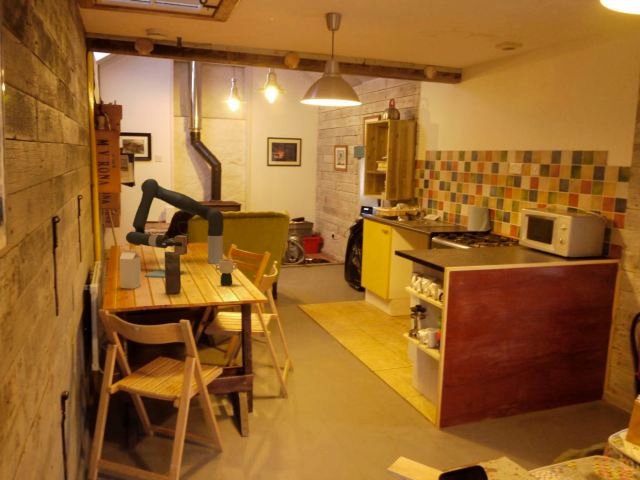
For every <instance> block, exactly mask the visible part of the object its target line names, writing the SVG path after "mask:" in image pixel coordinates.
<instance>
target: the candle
mask: <svg viewBox="0 0 640 480" xmlns="http://www.w3.org/2000/svg"><path fill="white" fill-rule="evenodd" d="M180 256H181V255H180V254H179V253H177V252H174V251H164V270H165V278H164V285H165V286H164V288H165V290H164V291H165V294H167V295H172V294H178V293H180V292H181V290H182V284H181V283H182V282H181V279H182V278H181V274H180V271H181V257H180Z"/></svg>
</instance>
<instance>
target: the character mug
mask: <svg viewBox="0 0 640 480" xmlns="http://www.w3.org/2000/svg"><path fill="white" fill-rule="evenodd" d="M218 266H219V267H218ZM237 269H238V264H237V263H236V262H234V260H233V259H232V258H231V259H230V258H223V259H221V260H219V264H215V271H219V273H221V276H220V285H223V286H229V285H232V284H233V276H232V273H234V270H237Z"/></svg>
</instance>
